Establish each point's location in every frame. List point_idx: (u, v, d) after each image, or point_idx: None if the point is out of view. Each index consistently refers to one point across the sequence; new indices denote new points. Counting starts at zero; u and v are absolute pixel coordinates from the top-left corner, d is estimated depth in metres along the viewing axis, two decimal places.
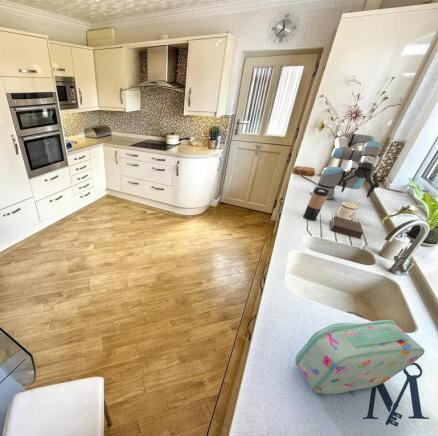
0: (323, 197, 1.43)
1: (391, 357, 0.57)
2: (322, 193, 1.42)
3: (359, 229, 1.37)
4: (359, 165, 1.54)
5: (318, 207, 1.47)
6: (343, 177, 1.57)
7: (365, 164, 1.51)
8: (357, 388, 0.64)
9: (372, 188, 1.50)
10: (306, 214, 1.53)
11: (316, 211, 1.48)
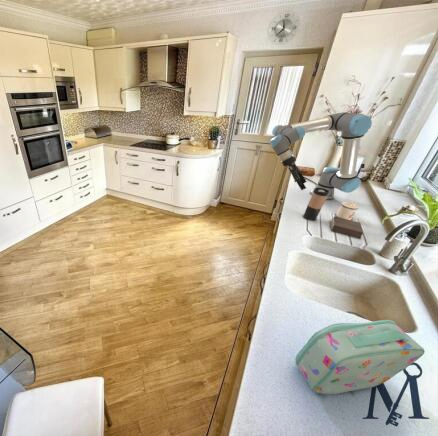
0: (323, 197, 1.43)
1: (391, 357, 0.57)
2: (322, 193, 1.42)
3: (359, 229, 1.37)
4: None
5: (318, 207, 1.47)
6: None
7: None
8: (357, 388, 0.64)
9: (297, 182, 1.44)
10: (306, 214, 1.53)
11: (316, 211, 1.48)
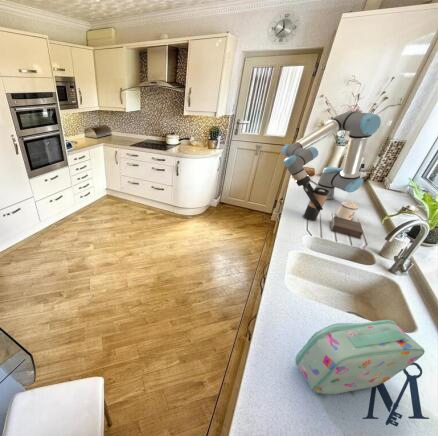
0: (323, 197, 1.43)
1: (391, 357, 0.57)
2: (322, 193, 1.42)
3: (359, 229, 1.37)
4: None
5: None
6: None
7: None
8: (357, 388, 0.64)
9: None
10: (306, 214, 1.53)
11: (316, 211, 1.48)
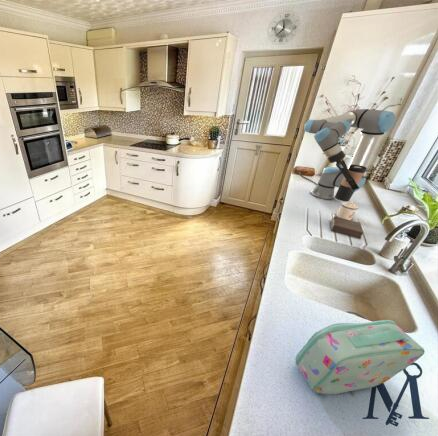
0: (360, 174, 1.28)
1: (391, 357, 0.57)
2: (359, 169, 1.27)
3: (359, 229, 1.37)
4: None
5: None
6: None
7: None
8: (357, 388, 0.64)
9: (349, 181, 1.30)
10: (339, 194, 1.37)
11: (351, 190, 1.33)
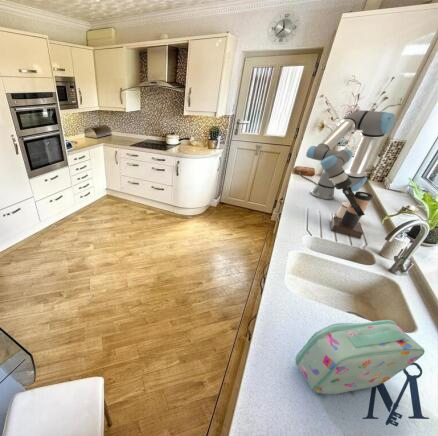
0: (366, 202, 1.30)
1: (391, 357, 0.57)
2: (365, 197, 1.29)
3: (359, 229, 1.37)
4: None
5: None
6: None
7: None
8: (357, 388, 0.64)
9: (354, 208, 1.31)
10: (345, 220, 1.39)
11: (357, 217, 1.35)
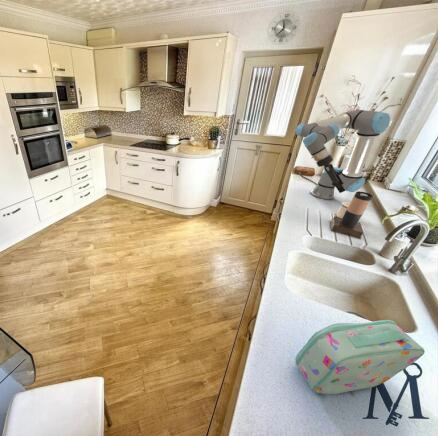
0: (366, 202, 1.30)
1: (391, 357, 0.57)
2: (365, 197, 1.29)
3: (359, 229, 1.37)
4: None
5: (360, 213, 1.33)
6: None
7: None
8: (357, 388, 0.64)
9: (335, 184, 1.31)
10: (345, 220, 1.39)
11: (357, 217, 1.35)
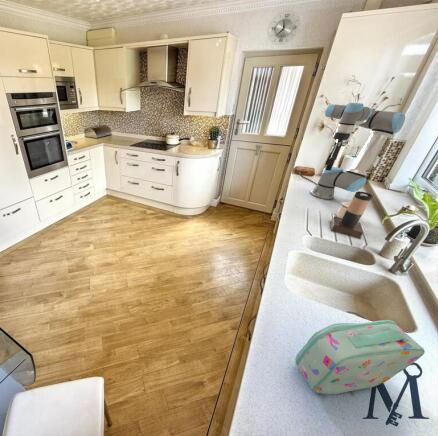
0: (366, 202, 1.30)
1: (391, 357, 0.57)
2: (365, 197, 1.29)
3: (359, 229, 1.37)
4: None
5: (360, 213, 1.33)
6: (331, 149, 1.50)
7: (334, 134, 1.39)
8: (357, 388, 0.64)
9: (330, 160, 1.39)
10: (345, 220, 1.39)
11: (357, 217, 1.35)
